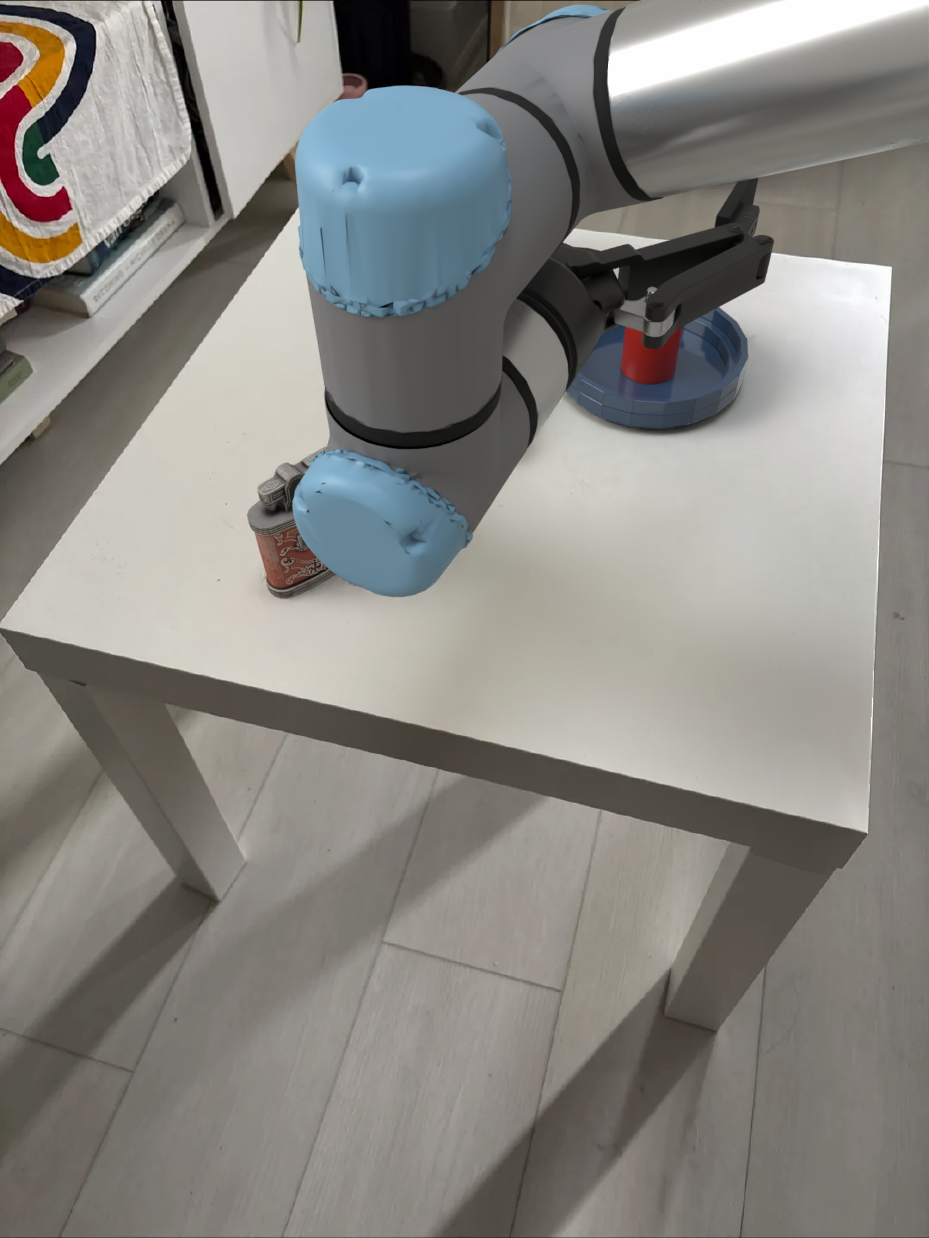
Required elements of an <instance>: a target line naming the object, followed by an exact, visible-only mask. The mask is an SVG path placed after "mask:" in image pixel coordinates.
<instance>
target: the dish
mask: <svg viewBox="0 0 929 1238" xmlns="http://www.w3.org/2000/svg"><path fill="white" fill-rule="evenodd" d="M624 334H625V326H622V325H618V326H617V327H615V328H614V329H612V330H610V331H608V332H606V333H604V334H603V335H602V336H601V337H600V339H599V341H598V343H597V345H596V346H595V348H594V350H593V352H592V354H591V355H590V357H589V358H588V360H587V361H586V363H585V364H584V366H583V367H582V369H581V370H580V372H579V373H578V375H577V376H576V378H575V379H574V381H573V382H572V384H571V385H570V387H569V388H568V389H567V390H566V391H565V393H566V394H567V395H569V396H570V398H571V399H573V401H574V402H575V403H576V404H577V405H578V406H580V407H582V408H583V409H585V410H587V411H589V412H590V413H592V414H593V415H595V416H597V417H599V418H601V419H602V420H605V421H607V422H610V423H613V424H617V425H620V426H624V427H628V428H629V427H630V428H633V429H634V428H635V429H642V430H666V429H675V428H680V427H684V426H688V425H693V424H695V423H698V422H700V421H703V420H706V419H709V418H711V417H713V416H716V415H717V414H719V412H721V411H722V410H723V409H724V408H726V407H728V405H729V404H730V403H732V402H733V401H734V400H735V398H736V396H737V395H738V392H739V390H740V388H741V386H742V385H743V381H744V379H745V374H746V369H747V364H748V361H749V344H748V338H747V336H746V335H745V332H744V331H743V329H742V328H741V326H740V324H739V322H738V321H737V320H736V319H735V318H733V317H732V316H731V315H730V314H728V313H727V311H725V310H724V309H722V308H721V306H720V307H718V308H716V309H714V310H713V311H711V312H709V313H707V314H705V315H703V316H701V317H699V318H697V319H696V320H694V321H692V322H690V323H688V324H686V325H684V326H683V330H682V335H681V341H680V347H679V353H678V358H677V364H676V370H675V373H674V375H673V376H672V377H671V378H670V379H669V380H667V381H665V382H662V383H658V384H642V383H638V382H635V381H633V380H631V379H629V378H628V377H627V376H625V374H624V373H623V372H622V369H621V359H622V351H623V342H624Z"/></svg>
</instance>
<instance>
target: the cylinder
mask: <svg viewBox="0 0 929 1238" xmlns="http://www.w3.org/2000/svg"><path fill="white" fill-rule="evenodd" d="M682 330H683V326H682V327H681V328H679V329H677V330H676V331H675V332H674V333H673V334H672V335H671V337H670V338H669V339H668V340H667V341H666V343H665V344H664V345H663V346H662V347H661V348H658V349H649V348H646V347H644V346H643V345H642V342H641V341H642V333H643V332H640V331H637V330H634V329H631V328H628V327H625V334H624V342H623V351H622V359H621V369H622V372H623V373H624V374H625V376H627V377H628V378H629V379H631V380H633V381H635V382H638V383H642V384H658V383H662V382H665V381H667V380H669V379H670V378H671V377H672V376H673V375H674V373H675V370H676V364H677V358H678V353H679V347H680V341H681V335H682Z"/></svg>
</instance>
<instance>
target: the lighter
mask: <svg viewBox="0 0 929 1238" xmlns="http://www.w3.org/2000/svg"><path fill="white" fill-rule="evenodd" d="M326 447H327V445H326V446H323V447H321V448H320V449H317V450H316V451H314V452H312V453H311V454H308V455H307V456H306V457H303V458H302V459H300V461H297V462H296V463H294V464H292V463H290V462H283V463H282V464H280V465H278V466H277V468H275V471H274V473H273V475H272V476H271V477H269V478H268V479H266V480H264V481H262V482H261V483H259V484H257V486H256V492H257V494H258V498H259V500H258V501H256V503H254V504H253V505H251V507H250V508H249V509H248V510H247V514H246V517H247V518H246V519H247V521H248V525H249V527H250V530H251V531H252V532H253V533H254V536H255V541H256V543H257V546H258V550H259V554H260V557H261V560H262V564H263V567H264V568H263V569H264V571H265V578H264V579H265V583H266V587H267V591H268V592H269V593H270V595H272V596H273V597H275V598H278V599H284V600H285V599H290V598H293V597H295V596H298V595H300V594H301V593H304V592H307V591H309V590H311V589H313V588H314V587H316V586H318V585H320V584H321V583H324V582H325V581H327V580H329V579H330V578H332V577H333V576H334V575H336V574H335V573H334V572H332V571H331V570H330V569H329V568H327V567H326V566H325V565H324V564H323V563H322V562H321V561H320V560H319V559H318V558H317V557H316V556H315V555H314V553H313V552H312V551H311V550H310V548H309V547H308V546H307V544H306V543H305V541H304V540H303V538H302V537H301V535H300V533H299V531H298V528H297V526H296V523H295V519H294V514H293V499H294V494H295V490H296V488H297V486H298V484H299V483H300V481H301V479H302V478H303V476H304V475H305V473H306V471H307V470H308V468H309V467H310V461H311V460H312V459H313V458H314V457H315V455H317V454H319V453H321V452H322V451H323V450H324V449H325V448H326Z"/></svg>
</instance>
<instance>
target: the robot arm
mask: <svg viewBox="0 0 929 1238" xmlns="http://www.w3.org/2000/svg"><path fill="white" fill-rule="evenodd" d="M927 143H929V0H637V1H634V2H632V3H629V4H627V5H626V6H624V7H621V8H617V9H613V10H610V9H606V8H604V7H602V6H597V5H596V6H595V5H591V4H572V5H568V6H563V7H561V8H559V9H556V10H553V11H552V12H550V13H548V14H547V15H545V16H544V17H543V18H541V19H539V20H537V21H535V22H533V23H531V24H529V25H528V26H525V27H523V28H521V29H520V30H518V31H516V32H515V33H513V35H512V36H511V37H510V38H509V39H508V40H507V42H506V43H505V44H504V45H503V46H501V47H499V49H498V51H497V52H496V53H495V55H494V56H493V57H492V58H490V59H489V61H487V62H486V63H485V64H484V65H483V66H482V67H481V68H480V69H479V70H478V71H477V72H476V73H474V74H473V75H472V76H471V77H470V78H469V79H468V80H467V81H466V82H465V83H463V84H462V86H460V87H459V88H458V89H457V90H456V91H455V92H453V91H449V90H445V89H442V88H441V89H439V88H437V87H430V86H420V85H392V86H385V87H377V88H370V89H367V90H366V91H365V92H364V94H362V96H360V97H358V98H343V99H337V100H336V101H334V102H332V103H330V104H329V105H328V106H326V107H324V108H323V109H322V110H321V111H319V112H318V113H317V114H316V115H315V116H314V117H313V118H312V119H311V120H310V121H309V122H308V124H307V125H306V126H305V128H304V130H303V131H302V133H301V135H300V138H299V140H298V143H297V146H296V149H295V150H296V151H295V154H294V156H295V158H294V169H295V170H294V171H295V182H296V191H297V201H298V202H297V203H298V213H299V223H300V224H299V225H298V227H297V231H298V240H299V243H298V252H299V253H298V254H299V258H300V261H301V265H302V269H303V270H304V271H305V276H306V277H305V278H306V283H307V288H308V295H309V300H310V305H311V312H312V318H313V325H314V329H315V336H316V341H317V347H318V355H319V360H320V367H321V375H322V378H323V379H322V380H323V385H324V393H323V398H324V399H323V400H324V407H325V413H326V414H325V415H326V419H327V425H328V432H329V437H328V441H327V444H326V446H327V447H326V448H325V449H324V450H323V451H322V452H321V453H319V454H317V455H315V457H314V458H313V459H312V460H311V461H310V467H309V468H308V470H307V471H306V473H305V475H304V476H303V478H302V479H301V481H300V483H299V484H298V486H297V488H296V490H295V494H294V499H293V514H294V519H295V523H296V526H297V528H298V531H299V533H300V535H301V537H302V538H303V540H304V541H305V543H306V544H307V546H308V547H309V548H310V550H311V551H312V552H313V553H314V555H315V556H316V557H317V558H318V559H319V560H320V561H321V562H322V563H323V564H324V565H325V566H326V567H327V568H329V569H330V570H331V571H332V572H334V573H335V574H334V575H336V576H337V577H339V578H341V579H342V580H344V581H346V582H347V583H349V584H351V585H353V586H355V587H358V588H361V589H362V588H363V589H364V590H367V591H369V592H371V593H373V594H374V595H379V596H383V597H390V598H407V597H412V596H415V595H418V594H421V593H424V592H425V591H427V590H429V589H430V588H431V587H432V586H433V585H434V584H435V583H437V582H438V580H439V579H440V578H441V576H442V575H443V573H444V572H445V571H446V569H448V567H449V566H450V564H452V562H453V561H454V560H455V558H456V557H457V556H458V555H459V553H460V552H461V550H464V549H466V548H468V546H469V545H470V543H471V542H472V540H473V538H474V532H475V531H476V529H477V527H478V526H479V524H480V523H481V521H482V520H483V518H484V517H485V515H486V514H487V512H488V510H489V509H490V508H491V506H492V504H493V503H494V501H495V499H496V498H497V497H498V495H499V494H500V492H501V490H502V489H503V488H504V486H505V484H506V483H507V481H508V480H509V478H510V476H511V475H512V474H513V472H514V471H515V469H516V467H517V466H518V464H519V463H520V461H521V459H522V458H523V457H524V455H525V454H526V452H527V450H528V448H529V447H530V446H531V444H532V443H533V442H534V440H535V439H536V437H537V436H538V435H539V433H540V431H541V430H542V428H543V427H544V425H545V424H546V422H547V421H548V419H549V418H550V416H551V415H552V413H553V412H554V410H555V409H556V407H557V406H558V405H559V403H560V401H561V400H562V398H563V396H564V394H565V393H566V390H567V389H568V388H569V387H570V385H571V384H572V382H573V381H574V379H575V378H576V376H577V375H578V373H579V372H580V370H581V369H582V367H583V366H584V364H585V363H586V361H587V360H588V358H589V357H590V355H591V354H592V352H593V350H594V348H595V346H596V345H597V343H598V341H599V339H600V337H601V336H602V335H603V334H604V333H606V332H608V331H610V330H612V329H614V328H615V327H617V326H618V325H622V326H625V327H628V328H631V329H634V330H637V331H640V332H643V333H642V341H641V342H642V345H643V346H644V347H646V348H649V349H658V348H661V347H662V346H663V345H664V344H665V343H666V341H667V340H668V339H669V338H670V337H671V335H672V334H673V333H674V332H675V331H676V330H677V329H679V328H681V327H682V326H684V325H686V324H688V323H690V322H692V321H694V320H696V319H697V318H699V317H701V316H703V315H705V314H707V313H709V312H711V311H713V310H714V309H716V308H718V307H720V308H721V307H722V306H724V305H726V304H728V303H730V302H731V301H733V300H736V299H737V298H738V297H741V296H743V295H745V294H746V293H748V292H750V291H752V290H754V289H756V288H758V287H759V286H761V285H763V284H764V283H766V279H767V274H768V271H769V267H770V262H771V258H772V253H773V248H774V244H775V239H774V238H773V237H772V236H769V235H766V234H758V235H755V234H756V231H757V227H758V223H759V217H760V212H761V208H760V206H759V205H757V204H754V202H755V197H756V192H757V188H758V183H759V178H764V177H767V176H772V175H777V174H782V173H787V172H792V171H797V170H801V169H806V168H807V169H808V168H811V167H815V166H821V165H825V164H830V163H831V164H832V163H835V162H839V161H844V160H849V159H854V158H858V157H863V156H869V155H873V154H878V153H883V152H887V151H893V150H898V149H902V148H907V147H908V148H909V147H913V146H916V145H917V146H918V145H922V144H927ZM734 183H735V185H734V187H733V188H732V190H731V191H730V193H729V195H728V196H727V198H726V199H725V201H724V202H723V204H722V206H721V207H720V209H719V211H718V212H717V214H716V215H715V221H714V227H710V228H707V229H705V230H700V231H697V232H693V233H689V234H686V235H683V236H679V237H675V238H672V239H668V240H665V241H661V242H657V243H653V244H650V245H647V246H642V247H639V248H635V247H634V246H632V244H630V243H623V244H621V245H618V246H613V247H609V248H606V249H602V250H599V249H595V248H590V247H581V246H572V245H570V244H568V243H565V242H564V241H565V240H566V239H567V238H568V237H569V236H570V235H571V233H572V232H573V231H574V230H575V228H577V226H578V225H579V224H580V223H581V221H582V220H584V219H585V218H587V217H589V216H591V215H595V214H598V213H602V212H607V211H612V210H616V209H621V208H625V207H631V206H636V205H640V204H645V203H648V202H649V203H650V202H653V201H658V200H661V199H664V198H666V197H671V196H675V195H681V194H686V193H690V192H695V191H700V190H704V189H710V188H714V187H720V186H724V185H729V184H734ZM616 269H618V274H617V275H616V273H615V271H614V270H616Z"/></svg>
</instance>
